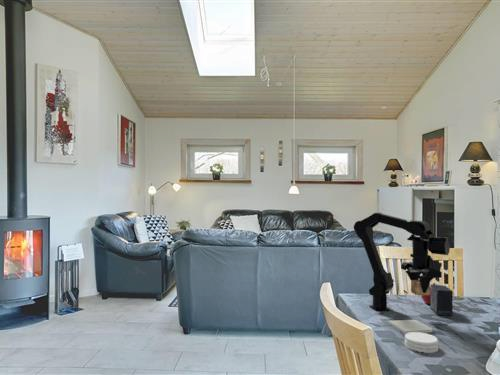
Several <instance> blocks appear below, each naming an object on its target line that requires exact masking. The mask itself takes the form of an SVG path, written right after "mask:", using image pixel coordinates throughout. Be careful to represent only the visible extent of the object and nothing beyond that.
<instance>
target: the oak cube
mask: <svg viewBox="0 0 500 375" xmlns="http://www.w3.org/2000/svg"><path fill="white" fill-rule="evenodd" d="M430 287H431V282H430V283H429V286H428V289H427V291H426V293H423V291H422V288H421V284H420V280H410V293H412V294H414V295H417V296H421V295H430Z"/></svg>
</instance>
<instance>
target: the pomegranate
mask: <svg viewBox="0 0 500 375" xmlns="http://www.w3.org/2000/svg"><path fill="white" fill-rule="evenodd" d="M432 285H437V283H435V282H434V283H432ZM420 297H421V300H422V301H423V302H424V303H425V304H427V305H430V303H431V286H430V295H420Z"/></svg>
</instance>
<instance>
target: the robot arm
mask: <svg viewBox="0 0 500 375" xmlns="http://www.w3.org/2000/svg"><path fill="white" fill-rule="evenodd" d="M379 223H380V224H384V225H388V226H391V227H395V228H399V229H402V230H404V231H406V232H408V233H409V234H411V235H410V236H409V237H408V238H406V239H407V241H411V242H412V253H410V256H409V257H411V258H412V261H408V262H407V261H403V262H402V263H401V264H400V269H401V270H402V271H405V273H406V274H407V277H408V278H409V280H410V281H411V280H420V284H421V288H422V291H423V293H426V291H427V289H428V286H429V283H430V284H431V281H432V280H433V279H438V278H441V279H442V278H443V273H442V271H441V268H442V265H443V263H441V262H439V261H438V260H435V259H433V257H432V256H431V255H429V252H430V253H431V254H432V255H441V256H448V255H449V253H450V250H451V248H450V247H451V246H450V242H449V240H448V237H447V236H444V237H439V236H436V235H435V234H434V233H433V231H432V230H431V227H430V225H429V223H428V222H427V221H424V220H413V219H412V220H410V219H405V218H400V217H396V216H392V215H389V214H385V213H382V212H374V213H372V214H370V216H367V217H366V218H364V219H362V220H357V221H356V222H355V223H354V224H353V231H354V232H355V234H356V235H357V237H358V238H359V239H360V241H361V242H362V245H363V247H364V250H365V253H366V255H367V259H368V261H369V263H370V264H369V265H370V266H371V270H372V272H373V277H372V282H373V286H372V287H371V288H369V289H368V292H369V295H370V296H372V305H370V304H369V308H371V309H373V310H375V311H390V310H391V308H389V307H388V306H387V304H388V302H387V301H388V300H387V295H388V294H390V292H391V291H392V289H393V288H394V282H395V280H394V279H393V277H392V276H393V275H392V272H388V271H386V270H385V268H384V266H383V263H382V260H381V256H380V254H379V252H378V248H377V246H376V243H375V240H374V229H373V228H374V227H376V226H377V225H378V224H379Z"/></svg>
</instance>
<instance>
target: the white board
mask: <svg viewBox="0 0 500 375" xmlns="http://www.w3.org/2000/svg"><path fill="white" fill-rule="evenodd" d="M388 324H389V325H390V326H391V327H393V328H395V329H397V330H398V331H400V333H401V332H402V333H403V334H404V335H405V334H407V333H409V332H422V333H427V334H430V333H434V329H432V328H431V327H429V326H427V325H425V324H423V323H422V322H420V321H418V320H416V319H402V320H401V319H400V320H399V319H397V320H388Z"/></svg>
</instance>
